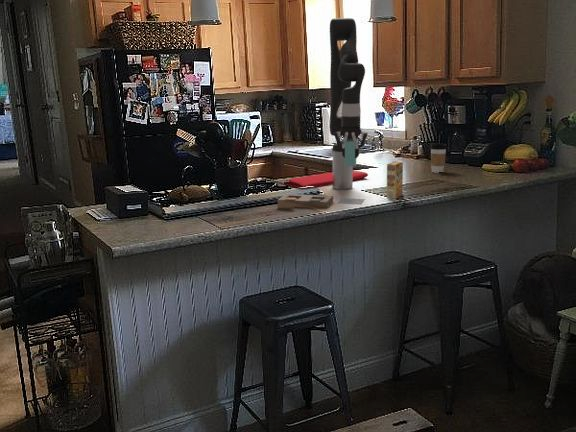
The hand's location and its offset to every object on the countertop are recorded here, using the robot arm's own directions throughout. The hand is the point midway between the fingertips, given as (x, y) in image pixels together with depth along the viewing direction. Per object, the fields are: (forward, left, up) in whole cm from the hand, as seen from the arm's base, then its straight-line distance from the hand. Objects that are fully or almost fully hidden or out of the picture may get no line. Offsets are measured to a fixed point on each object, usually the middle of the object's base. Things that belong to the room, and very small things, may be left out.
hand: (350, 157), depth 257 cm
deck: (0, +1, -19) cm, 19 cm away
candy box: (-14, +17, -19) cm, 29 cm away
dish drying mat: (-46, -20, -20) cm, 54 cm away
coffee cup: (-84, +31, -19) cm, 92 cm away
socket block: (+9, -16, -19) cm, 27 cm away
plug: (0, 0, -3) cm, 3 cm away
